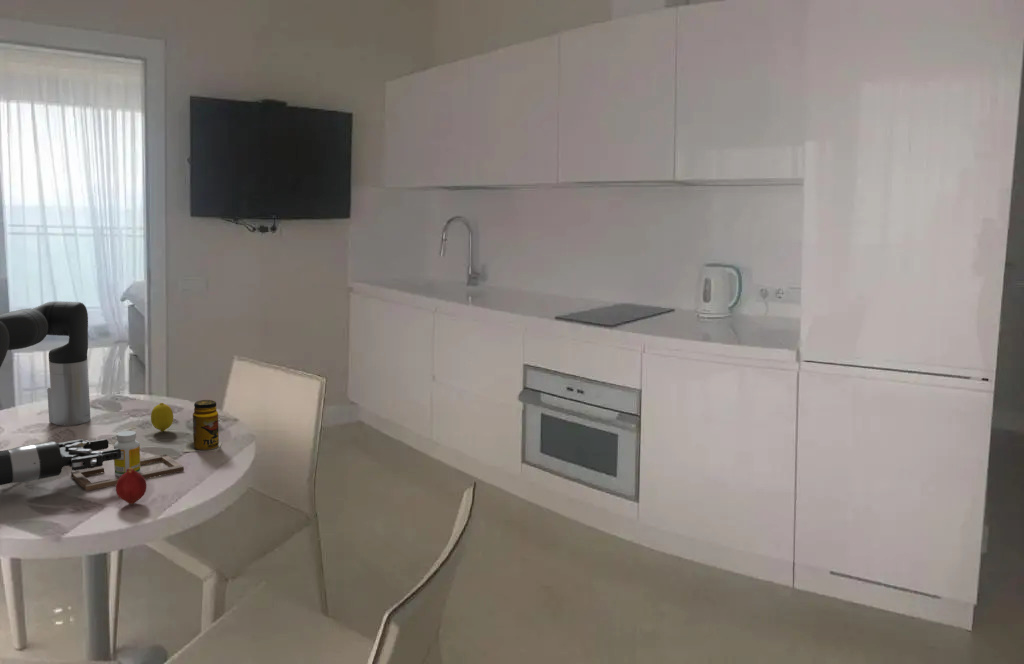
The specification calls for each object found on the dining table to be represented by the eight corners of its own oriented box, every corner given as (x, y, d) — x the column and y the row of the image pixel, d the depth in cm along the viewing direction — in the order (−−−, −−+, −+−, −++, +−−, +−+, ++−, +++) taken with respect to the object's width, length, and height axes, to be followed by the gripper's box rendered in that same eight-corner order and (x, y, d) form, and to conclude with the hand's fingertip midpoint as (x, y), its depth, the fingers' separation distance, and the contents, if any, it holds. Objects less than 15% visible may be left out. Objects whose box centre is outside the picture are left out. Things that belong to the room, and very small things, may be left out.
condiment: (218, 451, 204) (217, 405, 202) (182, 452, 202) (181, 406, 200) (222, 442, 211) (221, 397, 209) (187, 443, 209) (186, 398, 207)
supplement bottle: (114, 478, 183) (112, 437, 181) (115, 470, 188) (113, 430, 186) (140, 475, 185) (139, 435, 184) (140, 468, 190) (139, 428, 188)
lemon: (177, 429, 220) (176, 400, 219) (167, 435, 215) (166, 406, 213) (158, 427, 221) (157, 399, 219) (147, 433, 215) (146, 404, 214)
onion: (123, 498, 172) (121, 462, 171) (151, 498, 173) (149, 462, 171) (112, 509, 166) (110, 472, 165) (141, 509, 167) (139, 472, 166)
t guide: (55, 461, 192) (55, 457, 192) (147, 445, 206) (147, 441, 206) (86, 490, 175) (86, 486, 175) (183, 470, 190) (183, 466, 189)
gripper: (41, 454, 166) (124, 439, 177) (23, 437, 176) (103, 424, 188) (43, 488, 168) (125, 472, 179) (25, 469, 178) (104, 455, 189)
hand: (114, 448), depth 183 cm, fingers open, 8 cm apart
